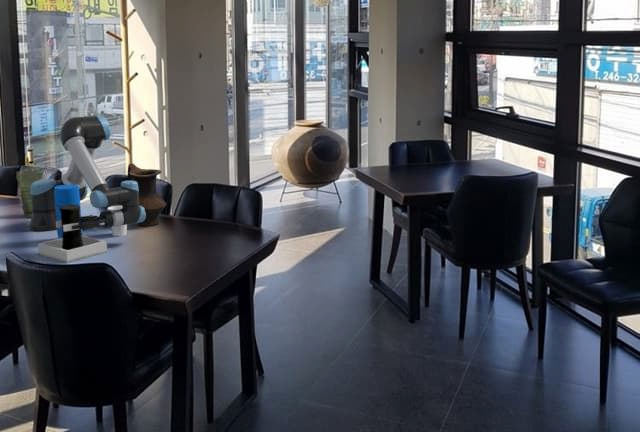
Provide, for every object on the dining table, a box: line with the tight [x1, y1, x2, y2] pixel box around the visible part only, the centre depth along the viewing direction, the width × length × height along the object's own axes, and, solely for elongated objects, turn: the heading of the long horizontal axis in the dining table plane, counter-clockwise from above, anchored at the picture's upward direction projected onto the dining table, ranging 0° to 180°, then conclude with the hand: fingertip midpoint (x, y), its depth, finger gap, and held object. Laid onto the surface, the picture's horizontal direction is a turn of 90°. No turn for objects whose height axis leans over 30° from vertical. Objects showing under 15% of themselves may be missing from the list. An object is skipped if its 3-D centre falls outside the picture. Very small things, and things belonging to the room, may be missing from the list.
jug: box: [127, 162, 167, 227], centre depth 369 cm, size 21×18×30 cm
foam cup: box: [107, 205, 128, 237], centre depth 350 cm, size 10×9×13 cm
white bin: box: [37, 234, 108, 264], centre depth 319 cm, size 20×20×5 cm
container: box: [59, 205, 83, 250], centre depth 317 cm, size 9×9×18 cm
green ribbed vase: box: [15, 167, 45, 218], centre depth 385 cm, size 11×12×25 cm
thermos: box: [54, 185, 83, 239], centre depth 339 cm, size 11×11×25 cm
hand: (59, 226), depth 314 cm, fingers closed on container, 8 cm apart
